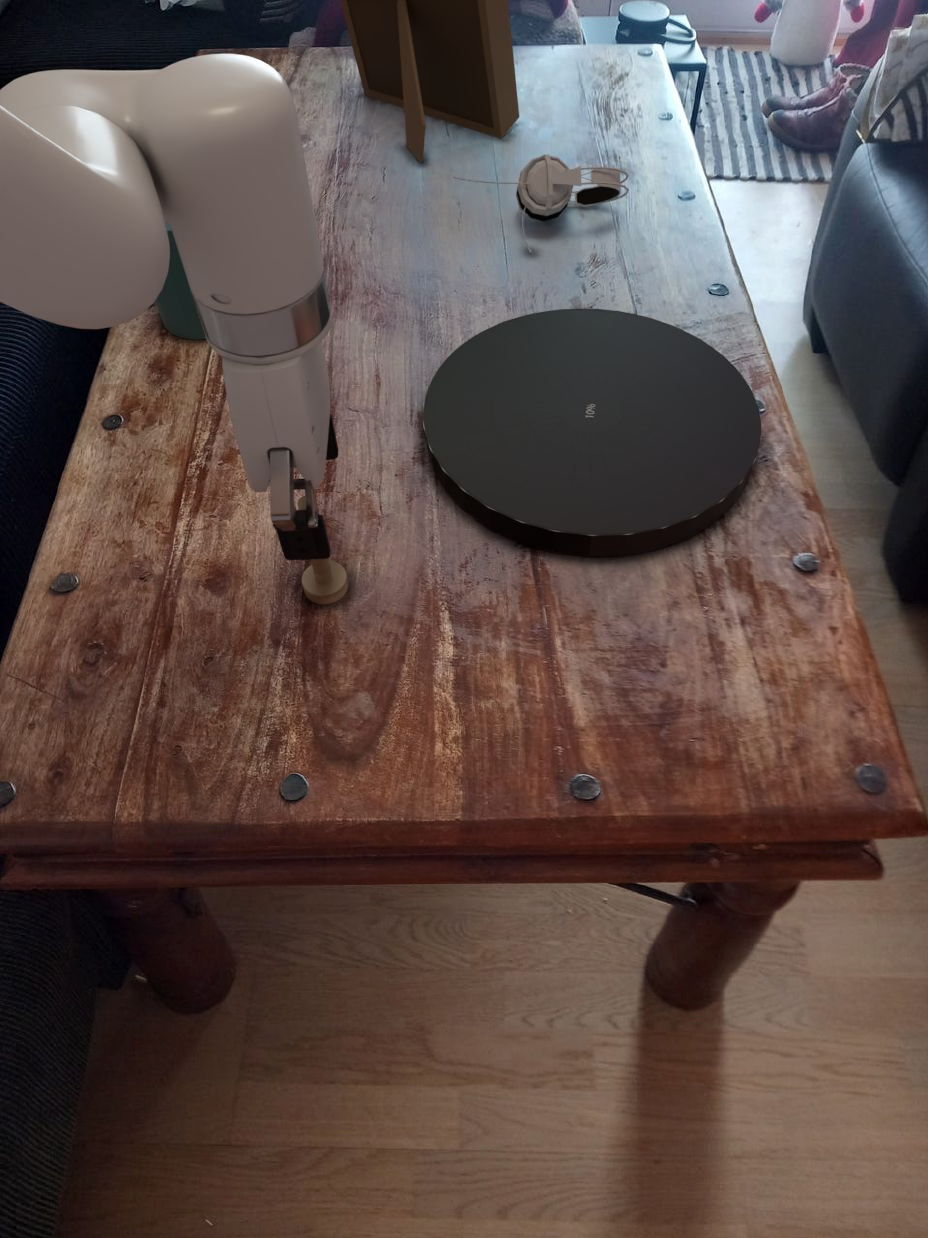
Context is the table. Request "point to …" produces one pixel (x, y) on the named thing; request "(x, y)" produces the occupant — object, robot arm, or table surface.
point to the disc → (591, 431)
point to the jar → (178, 299)
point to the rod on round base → (323, 576)
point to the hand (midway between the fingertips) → (313, 504)
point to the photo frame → (437, 62)
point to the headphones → (561, 188)
